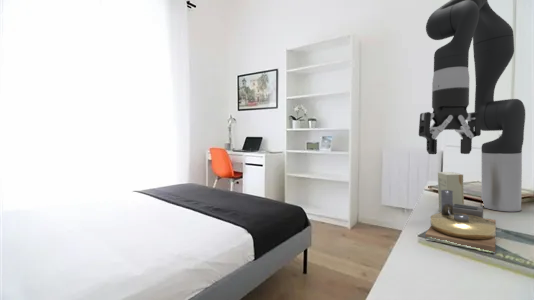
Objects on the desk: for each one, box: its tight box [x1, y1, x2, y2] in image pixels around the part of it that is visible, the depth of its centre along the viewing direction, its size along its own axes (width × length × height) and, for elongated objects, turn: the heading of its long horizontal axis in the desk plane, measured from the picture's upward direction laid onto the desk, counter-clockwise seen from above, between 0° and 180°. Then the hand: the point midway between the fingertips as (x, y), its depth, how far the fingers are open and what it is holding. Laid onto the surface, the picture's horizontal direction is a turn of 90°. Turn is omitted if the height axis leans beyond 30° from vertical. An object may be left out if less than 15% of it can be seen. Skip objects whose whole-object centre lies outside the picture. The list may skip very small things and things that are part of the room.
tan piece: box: [425, 204, 497, 253], centre depth 63 cm, size 20×12×5 cm, turn 138°
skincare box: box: [437, 171, 465, 213], centre depth 77 cm, size 6×4×12 cm
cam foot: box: [430, 190, 495, 239], centre depth 60 cm, size 12×12×8 cm
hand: (448, 153), depth 65 cm, fingers open, 8 cm apart
